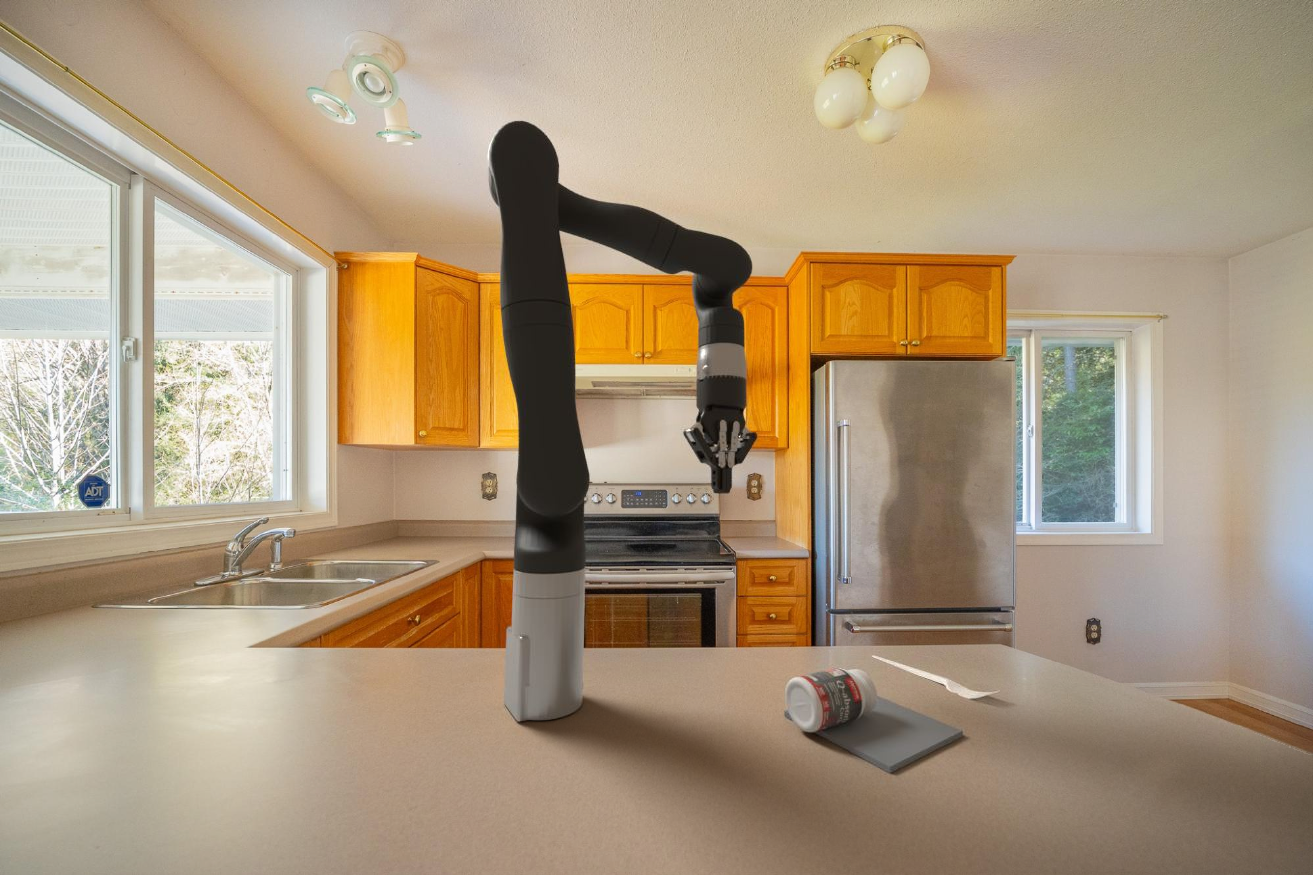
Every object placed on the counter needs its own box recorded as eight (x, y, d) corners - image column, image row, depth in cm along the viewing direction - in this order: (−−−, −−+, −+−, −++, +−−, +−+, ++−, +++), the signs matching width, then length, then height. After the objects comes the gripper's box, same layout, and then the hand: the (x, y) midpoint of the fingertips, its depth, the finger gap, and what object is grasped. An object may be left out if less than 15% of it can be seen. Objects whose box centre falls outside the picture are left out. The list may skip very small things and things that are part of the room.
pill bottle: (816, 686, 54) (879, 671, 59) (781, 671, 59) (842, 657, 64) (819, 742, 54) (883, 722, 58) (784, 722, 59) (845, 705, 63)
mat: (889, 773, 49) (889, 766, 49) (784, 716, 61) (784, 711, 61) (963, 736, 57) (962, 730, 57) (856, 691, 69) (856, 687, 69)
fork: (878, 658, 84) (878, 647, 84) (1003, 704, 66) (1002, 689, 66) (864, 661, 82) (864, 650, 83) (988, 709, 64) (987, 694, 65)
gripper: (737, 387, 82) (738, 492, 80) (671, 377, 75) (670, 493, 73) (770, 379, 76) (772, 493, 74) (701, 368, 69) (701, 494, 67)
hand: (721, 493), depth 74 cm, fingers closed
